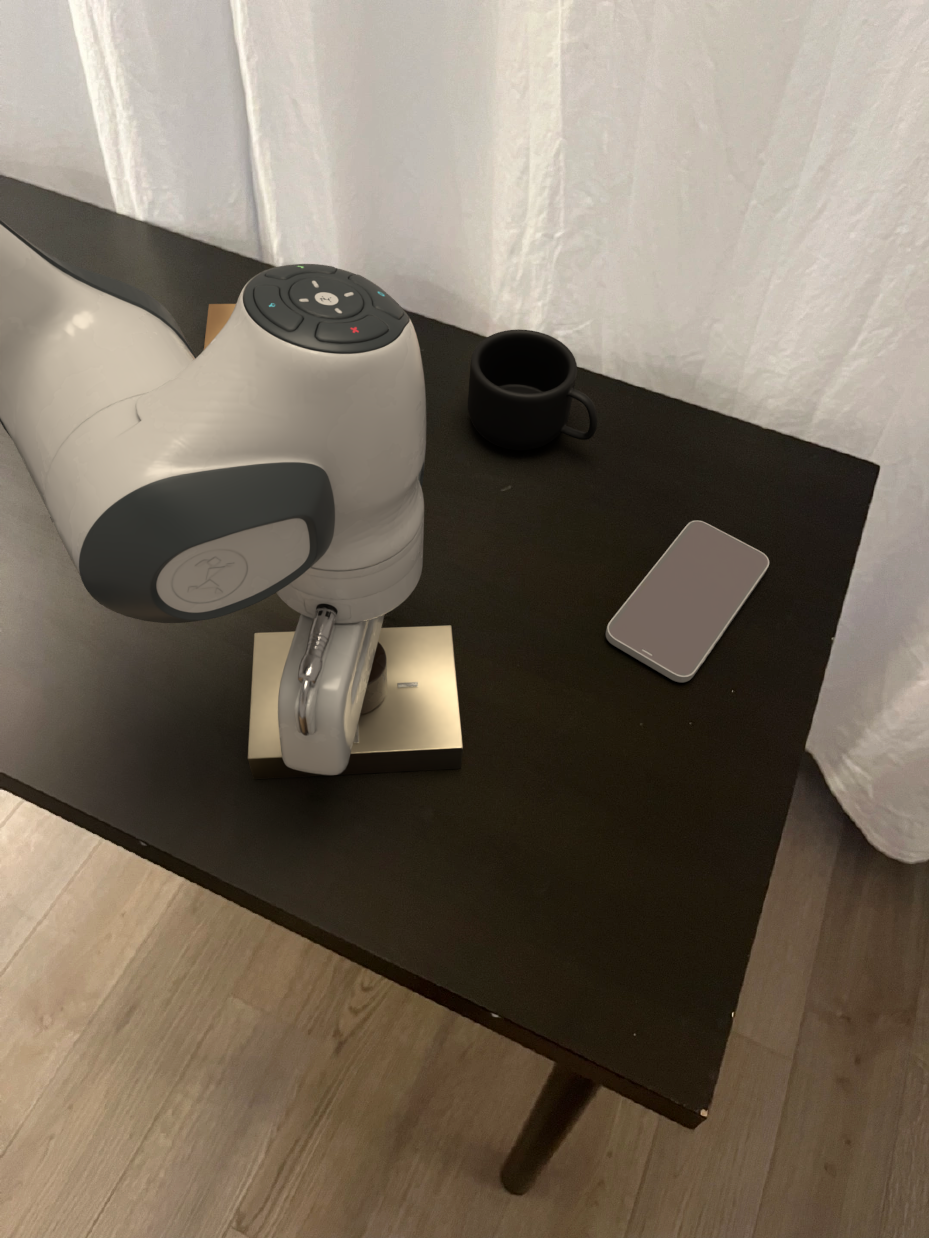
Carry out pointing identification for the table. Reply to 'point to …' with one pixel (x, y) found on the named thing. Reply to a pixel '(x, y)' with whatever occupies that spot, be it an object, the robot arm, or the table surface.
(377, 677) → the dial knob
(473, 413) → the mug
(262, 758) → the dial panel
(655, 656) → the smartphone
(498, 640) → the table surface
